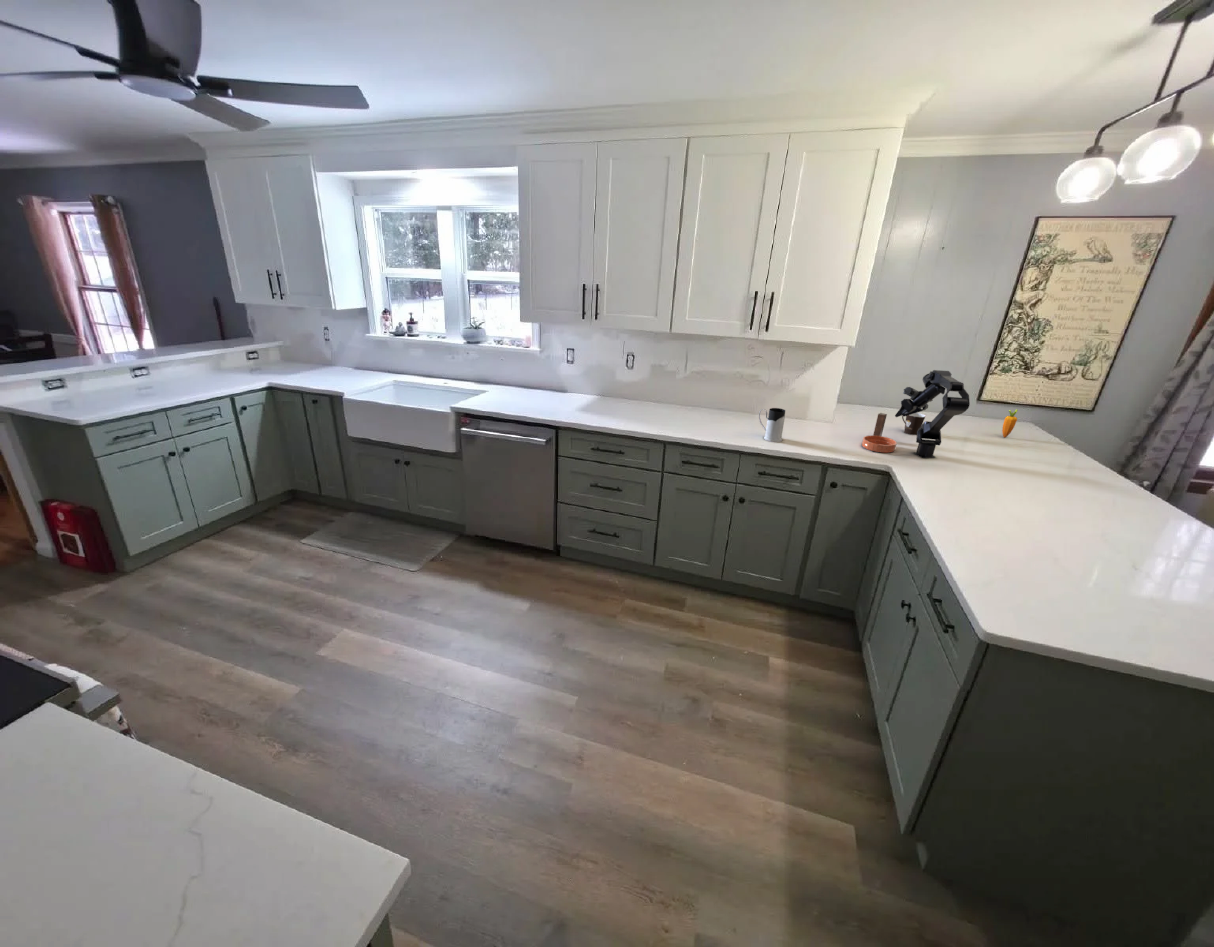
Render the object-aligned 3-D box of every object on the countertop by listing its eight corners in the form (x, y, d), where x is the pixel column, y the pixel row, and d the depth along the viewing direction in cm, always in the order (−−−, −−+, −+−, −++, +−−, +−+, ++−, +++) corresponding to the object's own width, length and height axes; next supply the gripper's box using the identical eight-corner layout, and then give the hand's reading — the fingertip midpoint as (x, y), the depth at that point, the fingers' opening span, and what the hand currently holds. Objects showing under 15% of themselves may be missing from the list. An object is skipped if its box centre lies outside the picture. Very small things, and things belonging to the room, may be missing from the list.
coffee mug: (923, 436, 254) (928, 417, 251) (904, 435, 256) (909, 416, 252) (915, 429, 265) (919, 411, 261) (897, 428, 267) (902, 410, 263)
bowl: (901, 452, 232) (903, 444, 231) (873, 454, 230) (875, 446, 229) (881, 442, 245) (883, 434, 243) (855, 443, 243) (857, 436, 241)
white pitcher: (775, 443, 242) (780, 413, 236) (751, 435, 252) (755, 407, 246) (785, 439, 247) (790, 410, 241) (761, 432, 257) (765, 404, 251)
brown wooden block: (882, 440, 248) (888, 414, 243) (878, 441, 246) (885, 415, 241) (873, 438, 251) (880, 412, 246) (870, 439, 249) (876, 413, 243)
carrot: (999, 438, 253) (1009, 409, 247) (997, 435, 257) (1007, 407, 251) (1011, 439, 251) (1021, 411, 245) (1009, 437, 255) (1019, 408, 249)
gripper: (924, 381, 237) (896, 402, 248) (908, 381, 226) (880, 403, 236) (940, 398, 233) (911, 420, 243) (925, 399, 221) (895, 421, 232)
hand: (899, 416), depth 239 cm, fingers open, 9 cm apart
